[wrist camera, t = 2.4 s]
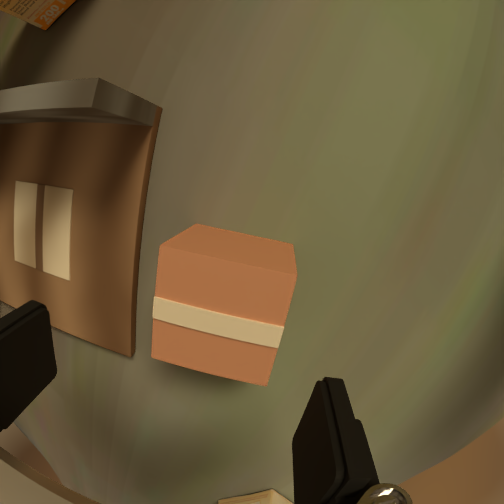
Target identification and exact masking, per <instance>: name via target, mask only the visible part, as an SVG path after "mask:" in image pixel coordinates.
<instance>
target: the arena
mask: <svg viewBox="0 0 504 504" xmlns="http://www.w3.org/2000/svg"><path fill="white" fill-rule="evenodd" d="M161 113H162V108H161V107H159V106H157V105H155V104H153V103H151V102H149V101H147V100H145V99H143V98H141V97H139V96H137V95H135V94H132V93H130V92H128V91H126V90H124V89H122V88H120V87H118V86H116V85H113V84H111V83H109V82H107V81H105V80H102V79H100V78H89V79H76V80H65V81H56V82H48V83H40V84H33V85H27V86H21V87H16V88H10V89H5V90H0V300H1V301H3V302H5V303H7V304H9V305H10V306H12V307H14V308H16V309H17V308H18V307H20V306H22V305H23V304H25V303H27V302H28V301H30V300H35V301H37V302H40V303H42V304H44V305H46V307H47V310H48V311H49V314H50V323H51V326H53V327H56V328H58V329H60V330H62V331H65V332H67V333H69V334H72V335H74V336H76V337H79V338H81V339H84V340H86V341H89V342H91V343H94V344H96V345H99V346H101V347H104V348H107V349H109V350H112V351H115V352H118V353H120V354H123V355H126V356H129V357H131V356H132V355H133V354H134V352H135V336H136V305H137V286H138V271H139V259H140V248H141V238H142V229H143V220H144V212H145V204H146V197H147V190H148V183H149V176H150V170H151V164H152V158H153V153H154V147H155V142H156V137H157V132H158V127H159V122H160V117H161Z"/></svg>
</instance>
